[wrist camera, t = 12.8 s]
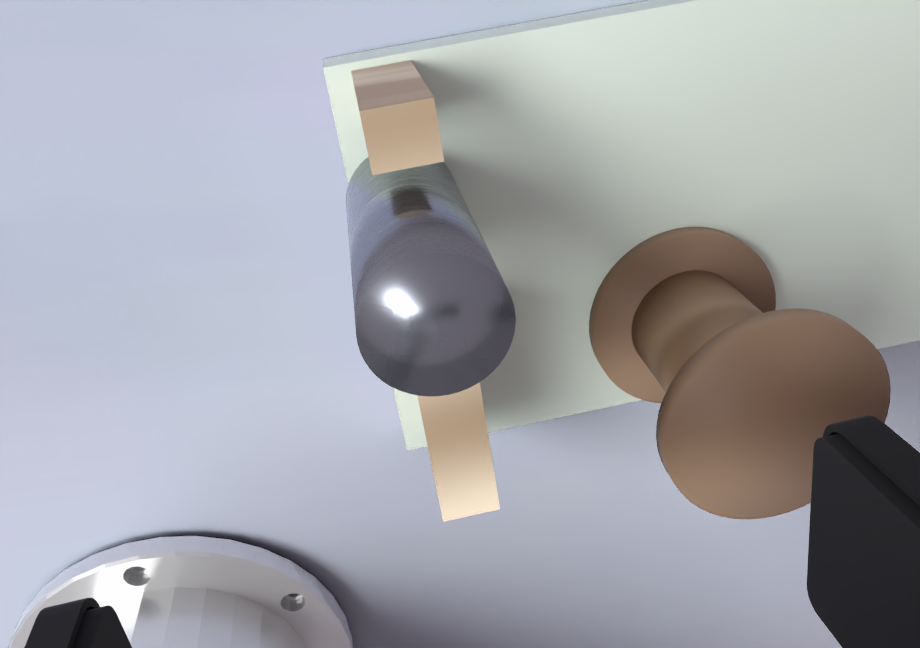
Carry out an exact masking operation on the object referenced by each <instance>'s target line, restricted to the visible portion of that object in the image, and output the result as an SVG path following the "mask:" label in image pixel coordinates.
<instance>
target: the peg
mask: <svg viewBox="0 0 920 648" xmlns="http://www.w3.org/2000/svg"><path fill="white" fill-rule="evenodd" d="M346 209H347V222H348V235H349V247H350V260H351V273H352V286H353V299H354V311H355V324H356V336H357V342H358V346H359V349H360V352H361V355H362V357H363V359H364V361H365V362H366V364H367V365H368V367H369V368H370V369H371V370H372V372H373V373H374V374H375V375H376V376H377V377H378V378H380V379H381V380H382V381H383V382H385V383H386V384H388V385H389V386H391V387H393V388H395V389H397V390H399V391H402V392H405V393H408V394H413V395H418V396H443V395H450V394H454V393H457V392H460V391H463V390H466V389H468V388H470V387H472V386H474V385H476V384H478V383H479V382H481V381H482V380H484V379H485V378H486V377H487V376H489V375H490V374H491V373H492V372H493V371H494V370H495V369H496V368H497V367H498V366H499V364H500V363H501V362H502V360H503V359H504V358H505V356H506V354H507V352H508V350H509V348H510V346H511V343H512V341H513V337H514V333H515V325H516V316H515V308H514V303H513V301H512V298H511V295H510V293H509V291H508V289H507V287H506V285H505V283H504V280H503V278H502V276H501V274H500V272H499V270H498V268H497V266H496V264H495V262H494V260H493V258H492V256H491V254H490V252H489V250H488V247H487V245H486V243H485V241H484V239H483V237H482V235H481V233H480V231H479V229H478V227H477V225H476V223H475V221H474V219H473V217H472V215H471V212H470V210H469V208H468V206H467V204H466V202H465V200H464V198H463V196H462V194H461V192H460V190H459V188H458V186H457V184H456V182H455V179H454V177H453V176H452V174H451V172H450V170H449V169H448V167H447V166H446V165H445V164H444V163H443V162H439V163H434V164H429V165H424V166H418V167H413V168H408V169H403V170H397V171H392V172H387V173H382V174H376V175H372V171H371V166H370V161H369V157H368V158H366V159H365V160H364V161H363V162H362V163H361V164H360V165H359V166H358V167H357V169H356V170H355V172H354V173H353V175H352V177H351V179H350V182H349V184H348V188H347V194H346Z"/></svg>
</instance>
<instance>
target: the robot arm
mask: <svg viewBox="0 0 920 648" xmlns="http://www.w3.org/2000/svg"><path fill="white" fill-rule="evenodd" d="M807 591H808V595H809V599H810V601H811V604H812V606H813V608H814V610H815V612H816V613H817V615H818V616H819V617H820V619H821V620H822V621H823V623H824V624H825V625H826V626H827V628H828V629H829V630H830V632H831V633H832V634H833V636H834V637H835V638H836V640H837V641H838V642H839V644H840V645H841V646H842V647H843V648H920V453H919V452H918V451H917V450H916V449H914V448H913V447H912V446H911V445H910V444H908V443H907V442H906V441H905V440H903V439H902V438H901V437H900V436H899V435H897V434H896V433H895V432H894V431H893V430H891V429H890V428H889V427H888V426H887V425H885V424H884V423H883V422H882V421H881V420H879V419H878V418H876V417H874V416H869V415H868V416H863V417H859V418H855V419H850V420H846V421H842V422H838V423H833V424H830V425H828V426H827V427H826V428H825V430H824V434H823V437H822V438H819V439H817V440H816V441H815V443H814V450H813V470H812V491H811V512H810V532H809V553H808V574H807ZM8 648H353V646H352V636H351V633H350V629H349V626H348V623H347V619H346V616H345V614H344V613H343V611H342V609H341V608H340V606H339V605H338V603H337V601H336V600H335V598H334V596H333V595H332V594H331V593H330V592H329V591H328V590H327V589H326V588H325V587H324V586H323V585H322V584H321V583H320V582H319V581H318V580H317V579H316V578H315V577H314V576H313V575H311V574H310V573H308V572H307V571H305V570H304V569H302V568H301V567H300V566H298V565H297V564H295V563H294V562H292V561H290V560H288V559H286V558H284V557H281V556H279V555H277V554H275V553H272V552H270V551H268V550H266V549H263V548H260V547H256V546H253V545H249V544H245V543H241V542H237V541H234V540H229V539H220V538H211V537H202V536H176V537H158V538H152V539H147V540H141V541H136V542H130V543H125V544H122V545H119V546H116V547H113V548H110V549H107V550H104V551H102V552H99V553H96V554H93V555H91V556H89V557H87V558H86V559H84V560H82V561H80V562H78V563H76V564H74V565H73V566H71V567H69V568H67V569H65V570H64V571H62V572H61V573H60V574H59V575H58V576H56V577H55V578H54V579H53V580H51V581H50V582H49V583H48V584H46V585H45V586H44V587H43V588H41V590H40V591H39V592H38V593H37V595H36V596H35V597H34V598H33V600H32V601H31V602H30V603H29V605H28V606H27V607H26V608H25V610H24V612H23V614H22V616H21V618H20V620H19V622H18V624H17V626H16V629H15V631H14V633H13V635H12V637H11V639H10V642H9V645H8Z"/></svg>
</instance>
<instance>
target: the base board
mask: <svg viewBox="0 0 920 648" xmlns="http://www.w3.org/2000/svg"><path fill="white" fill-rule="evenodd" d="M408 60H411V62H412V63H413V65H414V66H415V68H416V70H417V71H418V73H419V74H420V76H421V77H422V79H423V81H424V82H425V84H426V85H427V87H428V89H429V90H430V92H431V93H432V95H433V97H434V100H435V106H436V113H437V119H438V125H439V131H440V138H441V144H442V150H443V156H444V162H443V163H444V164H445V165H446V166H447V167H448V169H449V170H450V172H451V174H452V176H453V177H454V179H455V182H456V184H457V186H458V188H459V190H460V192H461V194H462V196H463V198H464V200H465V202H466V204H467V206H468V208H469V210H470V212H471V215H472V217H473V219H474V221H475V223H476V225H477V227H478V229H479V231H480V233H481V235H482V237H483V239H484V241H485V243H486V245H487V247H488V250H489V252H490V254H491V256H492V258H493V260H494V262H495V264H496V266H497V268H498V270H499V272H500V274H501V276H502V278H503V280H504V283H505V285H506V287H507V289H508V291H509V293H510V295H511V298H512V301H513V303H514V308H515V316H516V325H515V333H514V337H513V341H512V343H511V346H510V348H509V350H508V352H507V354H506V356H505V358H504V359H503V360H502V362H501V363H500V364H499V366H498V367H497V368H496V369H495V370H494V371H493V372H492V373H491V374H490V375H489V376H487V377H486V378H485V379H484V380H482V381H481V382H480V387H481V393H482V399H483V406H484V412H485V418H486V424H487V430H488V433H491V432H496V431H500V430H505V429H510V428H514V427H519V426H524V425H528V424H533V423H537V422H542V421H547V420H551V419H556V418H561V417H565V416H570V415H575V414H579V413H584V412H589V411H593V410H598V409H603V408H607V407H612V406H617V405H621V404H626V403H631V402H635V401H640V400H642V399H639V398H636V397H633V396H632V395H630V394H628V393H626V392H624V391H623V390H622V389H620V388H619V387H617V386H616V385H615V384H614V383H613V382H612V381H611V380H610V379H609V377H608V376H607V374H606V373H605V372H604V370H603V369H602V367H601V365H600V364H599V362H598V360H597V358H596V356H595V354H594V352H593V349H592V345H591V341H590V335H589V319H590V311H591V307H592V304H593V300H594V298H595V295H596V293H597V290H598V288H599V286H600V285H601V283H602V281H603V279H604V278H605V276H606V275H607V274H608V272H609V271H610V269H611V268H612V267H613V266H614V265H615V264H616V263H617V262H618V260H619V259H620V258H621V257H623V256H624V255H625V254H626V253H627V252H628V251H629V250H631V249H632V248H634V247H635V246H637V245H638V244H640V243H641V242H643V241H645V240H647V239H648V238H650V237H652V236H655V235H657V234H660V233H662V232H665V231H669V230H673V229H676V228H684V227H707V228H713V229H717V230H721V231H724V232H726V233H728V234H731V235H733V236H734V237H736V238H737V239H739V240H741V241H742V242H743V243H745V244H746V245H747V246H749V247H750V248H751V249H752V250H753V251H754V252H755V253H757V254H758V255H759V256H760V258H761V259H762V260H763V262H764V263H765V264H766V266H767V268H768V270H769V272H770V274H771V277H772V279H773V282H774V287H775V293H776V308H775V310H781V309H797V308H802V309H811V310H817V311H821V312H825V313H828V314H831V315H833V316H835V317H838V318H840V319H842V320H843V321H845V322H846V323H848V324H849V325H851V326H852V327H853V328H855V329H856V330H857V331H859V332H860V333H861V334H862V335H864V336H865V337H866V338H867V339H868V340H869V341H870V342H871V343H872V344H873V345H874V346H875V347H876V349H877V350H878V349H882V348H887V347H892V346H896V345H901V344H906V343H910V342H915V341H919V340H920V0H647V1H642V2H636V3H631V4H625V5H619V6H614V7H608V8H603V9H597V10H592V11H586V12H581V13H575V14H569V15H564V16H558V17H553V18H547V19H542V20H536V21H530V22H525V23H519V24H514V25H508V26H503V27H497V28H491V29H486V30H480V31H475V32H469V33H464V34H458V35H453V36H447V37H441V38H436V39H430V40H425V41H419V42H414V43H408V44H402V45H397V46H391V47H386V48H380V49H375V50H369V51H363V52H358V53H352V54H347V55H341V56H336V57H330V58H324V59H323V70H324V75H325V79H326V84H327V89H328V93H329V98H330V102H331V107H332V111H333V116H334V120H335V125H336V130H337V134H338V139H339V143H340V148H341V152H342V157H343V161H344V166H345V170H346V175H347V180H348V184H349V182H350V179H351V177H352V175H353V173H354V172H355V170H356V169H357V167H358V166H359V165H360V164H361V163H362V162H363V161H364V160H365V159H366V158H368V152H367V147H366V142H365V137H364V132H363V127H362V123H361V118H360V113H359V108H358V103H357V98H356V93H355V88H354V84H353V79H352V74H351V71H352V70H358V69H364V68H369V67H375V66H380V65H386V64H391V63H397V62H402V61H408ZM393 389H394V393H395V398H396V403H397V407H398V412H399V416H400V421H401V425H402V430H403V434H404V439H405V443H406V448H407V450H412V449H416V448H421V447H426V446H428V445H427V440H426V436H425V431H424V426H423V421H422V416H421V411H420V406H419V401H418V396H417V395H413V394H408V393H405V392H402V391H399V390H397V389H395V388H393Z"/></svg>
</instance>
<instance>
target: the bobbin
mask: <svg viewBox="0 0 920 648" xmlns="http://www.w3.org/2000/svg"><path fill="white" fill-rule="evenodd" d="M775 308H776V293H775V287H774V282H773V279H772V277H771V274H770V272H769V270H768V268H767V266H766V264H765V263H764V262H763V260H762V259H761V258H760V256H759V255H758V254H757V253H755V252H754V251H753V250H752V249H751V248H750V247H749V246H747V245H746V244H745V243H743V242H742V241H741V240H739V239H737V238H736V237H734V236H733V235H731V234H728V233H726V232H724V231H721V230H717V229H713V228H707V227H684V228H676V229H673V230H669V231H665V232H662V233H660V234H657V235H655V236H652V237H650V238H648V239H647V240H645V241H643V242H641V243H640V244H638V245H637V246H635V247H634V248H632V249H631V250H629V251H628V252H627V253H626V254H625V255H624V256H623V257H621V258H620V259H619V260H618V262H617V263H616V264H615V265H614V266H613V267H612V268H611V269H610V271H609V272H608V274H607V275H606V276H605V278H604V279H603V281H602V283H601V285H600V286H599V288H598V290H597V293H596V295H595V298H594V300H593V304H592V307H591V311H590V319H589V335H590V341H591V345H592V349H593V352H594V354H595V356H596V358H597V360H598V362H599V364H600V365H601V367H602V369H603V370H604V372H605V373H606V374H607V376H608V377H609V379H610V380H611V381H612V382H613V383H614V384H615V385H616V386H617V387H619V388H620V389H622V390H623V391H624V392H626V393H628V394H630V395H632V396H633V397H636V398H639V399H642V400H645V401H650V402H655V403H662V404H661V407H660V410H659V414H658V420H657V430H656V439H657V447H658V451H659V455H660V458H661V461H662V463H663V465H664V467H665V469H666V471H667V473H668V474H669V476H670V477H671V479H672V481H673V482H674V484H675V485H676V487H677V488H678V489H679V491H680V492H681V493H682V494H683V495H684V496H685V497H686V498H687V499H688V500H689V501H690V502H692V503H693V504H694V505H696V506H697V507H699V508H701V509H703V510H705V511H707V512H709V513H712V514H715V515H718V516H722V517H728V518H733V519H758V518H766V517H771V516H776V515H780V514H783V513H787V512H790V511H792V510H795V509H798V508H800V507H803V506H805V505H807V504H809V503H811V491H812V470H813V450H814V443H815V441H816V440H817V439H819V438H822V437H823V434H824V430H825V428H826V427H827V426H828V425H830V424H833V423H838V422H842V421H846V420H850V419H855V418H859V417H863V416H868V415H869V416H874V417H876V418H878V419H879V420H881V421H882V422H883V423H885V420H886V417H887V414H888V408H889V403H890V380H889V374H888V371H887V367H886V364H885V362H884V360H883V358H882V356H881V354H880V353H879V351H878V350H877V349H876V347H875V346H874V345H873V344H872V343H871V342H870V341H869V340H868V339H867V338H866V337H865V336H864V335H862V334H861V333H860V332H859V331H857V330H856V329H855V328H853V327H852V326H851V325H849V324H848V323H846V322H845V321H843V320H842V319H840V318H838V317H835V316H833V315H831V314H828V313H825V312H821V311H817V310H811V309H802V308H797V309H781V310H775Z"/></svg>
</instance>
